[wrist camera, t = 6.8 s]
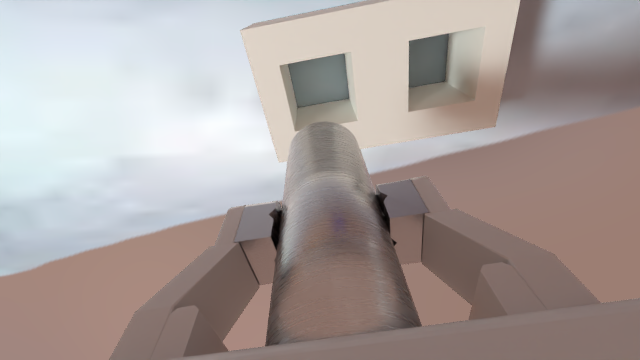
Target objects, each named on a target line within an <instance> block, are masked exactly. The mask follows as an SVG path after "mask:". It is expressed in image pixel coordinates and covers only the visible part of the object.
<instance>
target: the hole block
mask: <svg viewBox="0 0 640 360" xmlns="http://www.w3.org/2000/svg"><path fill="white" fill-rule="evenodd" d="M519 5H520V0H367V1H362V2H357V3H352V4H347V5H342V6H337V7H332V8H327V9H322V10H317V11H312V12H307V13H302V14H297V15H292V16H288V17H283V18H278V19H273V20H268V21H263V22H258V23H254V24H252V25H250V26H248V27H246V28H244V29H242V30H240V32H241V35H242V39H243V42H244V46H245V49H246V52H247V56H248V59H249V63H250V66H251V69H252V73H253V76H254V80H255V83H256V86H257V90H258V93H259V97H260V100H261V103H262V107H263V110H264V114H265V117H266V120H267V124H268V127H269V131H270V134H271V137H272V141H273V144H274V148H275V151H276V154H277V158H278V161H279V162H285V161H288V153H289V147H290V144H291V141H292V139H293V138H294V136H295V135H296V134H297V133H298V132H299V131H300V130H301V129H303V128H304V127H306V126H308V125H310V124H312V123H316V122H323V121H324V122H334V123H338V124H340V125H342V126H344V127H346V128H347V129H348V130H350V131H351V132H352V133H353V135H354V136H355V138H356V140H357V142H358V145H359V147H360V149H364V148H370V147H376V146H382V145H388V144H394V143H400V142H406V141H412V140H418V139H424V138H430V137H436V136H442V135H448V134H454V133H461V132H467V131H473V130H479V129H485V128H491V127H495V126H496V121H497V116H498V111H499V106H500V101H501V96H502V91H503V86H504V81H505V75H506V70H507V65H508V60H509V55H510V50H511V45H512V40H513V35H514V30H515V25H516V20H517V15H518V10H519ZM448 33H449V38H448V51H447V63H446V76H445V82H439V83H434V84H428V85H422V86H417V87H411V88H409V41H411V40H416V39H421V38H426V37H432V36H437V35H442V34H448ZM342 53H344V55H345V64H346V73H347V82H348V90H349V99H344V100H338V101H333V102H327V103H322V104H316V105H310V106H305V107H299V108H297V103H296V99H295V94H294V90H293V85H292V81H291V76H290V72H289V67H288V64H289V63H295V62H300V61H305V60H311V59H316V58H321V57H326V56H332V55H337V54H342Z"/></svg>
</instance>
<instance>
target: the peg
mask: <svg viewBox="0 0 640 360" xmlns="http://www.w3.org/2000/svg"><path fill="white" fill-rule="evenodd" d="M420 326H422V325H421V322H420V319H419V316H418V314H417V311H416V308H415V305H414V302H413V299H412V296H411V293H410V291H409V288H408V285H407V282H406V279H405V276H404V274H403V270H402V268H401V265H400V262H399V259H398V256H397V253H396V250H395V248H394V245H393V242H392V239H391V236H390V233H389V230H388V228H387V225H386V222H385V219H384V216H383V213H382V210H381V208H380V205H379V202H378V199H377V196H376V193H375V191H374V188H373V185H372V182H371V179H370V176H369V173H368V170H367V168H366V165H365V162H364V159H363V156H362V153H361V150H360V147H359V145H358V142H357V140H356V138H355V136H354V135H353V133H352V132H351V131H350V130H348V129H347V128H346V127H344V126H342V125H340V124H338V123H334V122H324V121H323V122H316V123H312V124H310V125H308V126H306V127H304V128H303V129H301V130H300V131H299V132H298V133H297V134H296V135H295V136H294V138H293V139H292V141H291V144H290V147H289V153H288V161H287V169H286V178H285V186H284V194H283V203H282V211H281V219H280V228H279V236H278V244H277V253H276V261H275V269H274V278H273V286H272V294H271V303H270V311H269V319H268V329H267V336H266V345H265V346H273V345H281V344H289V343H296V342H304V341H312V340H320V339H328V338H335V337H343V336H351V335H359V334H366V333H374V332H382V331H389V330H397V329H405V328H413V327H420Z"/></svg>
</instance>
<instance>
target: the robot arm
mask: <svg viewBox="0 0 640 360" xmlns="http://www.w3.org/2000/svg"><path fill="white" fill-rule="evenodd" d="M376 196H377V199H378V202H379V205H380V208H381V210H382V213H383V216H384V219H385V222H386V225H387V228H388V230H389V233H390V236H391V239H392V242H393V245H394V248H395V250H396V253H397V256H398V259H399V262H400V265H401V264H409V263H418V262H422V264H423V265H424V266H425V267H427V268H428V269H429V270H430V271H431V272H433V273H434V274H435V275H436V276H437V277H439V278H440V279H441V280H442V281H443V282H445V283H446V284H447V285H448V286H449V287H451V288H452V289H453V290H454V291H455V292H457V293H458V294H459V295H460V296H461V297H463V298H464V299H465V300H466V301H467V302H468V303H470V304H471V305H472V308H471V312H470V316H469V320H467V321H459V322H452V323H443V324H436V325H428V326H420V327H413V328H405V329H397V330H389V331H382V332H374V333H366V334H359V335H351V336H343V337H335V338H328V339H320V340H312V341H304V342H296V343H289V344H281V345H273V346H265V347H258V348H250V349H242V350H234V351H228V349H227V348H226V347H225V345H224V344H223V342H222V341H223V340H224V339H225V337H226V335H227V334H228V333H229V331H230V330H231V328H232V326H233V325H234V323H235V322H236V321H237V319H238V318H239V316H240V315H241V314H242V312H243V311H244V309H245V307H246V306H247V305H248V303H249V302H250V300H251V299H252V297H253V296H254V294H255V293H256V291H257V290H258V289H259V285H263V284H270V283H273V278H274V269H275V261H276V253H277V244H278V236H279V228H280V219H281V211H282V208H281V206H280V203H279V202H278V201H272V202H265V203H258V204H251V205H244V206H238V207H231V208H230V209H229V210H228V211H227V214H226V217H225V220H224V222H223V225H222V227H221V230H220V233H219V235H218V238H217V241H216V243H215V246H211V247H209V248H208V249H206V250H205V251H204V252H203V253H202V254H201V255H200V256H198V257H197V258H196V259H195V260H194V261H193V262H192V263H190V264H189V265H188V266H187V267H186V268H185V269H184V270H183V271H181V272H180V273H179V274H178V275H177V276H176V277H175V278H173V279H172V280H171V281H170V282H169V283H168V284H167V285H165V286H164V287H163V288H162V289H161V290H160V291H159V292H157V293H156V294H155V295H154V296H153V297H152V298H151V299H150V300H148V301H147V302H146V303H145V304H144V305H143V306H142V307H140V308H139V309H138V310H137V311H136V312H135V314H134V315H133V317H132V319H131V321H130V323H129V324H128V326H127V328H126V330H125V331H124V333H123V335H122V337H121V339H120V341H119V342H118V344H117V346H116V348H115V350H114V352H113V353H112V355H111V357H110V359H109V360H640V298H638V299H629V300H621V301H614V302H606V303H601V302H600V301H599V300H598V299H597V298H596V297H595V296H594V295H593V294H592V293H591V292H590V291H589V290H588V289H587V288H586V287H585V286H584V285H583V284H582V283H581V281H579V279H578V278H577V277H576V276H575V275H574V274H573V273H572V272H571V271H570V270H569V269H568V268H567V267H566V266H565V265H564V264H563V263H562V262H561V261H560V260H559V259H558V258H557V256H556V255H555V254H553V253H551V252H549V251H547V250H544V249H542V248H540V247H538V246H536V245H534V244H531V243H529V242H527V241H525V240H523V239H521V238H519V237H516V236H514V235H512V234H510V233H508V232H505V231H503V230H501V229H499V228H497V227H495V226H493V225H490V224H488V223H486V222H484V221H481V220H479V219H477V218H475V217H473V216H471V215H469V214H466V213H464V212H462V211H460V210H458V209H453V210H451V209H450V207H449V206H448V205H447V203H446V202H445V200H444V199H443V197H442V196H441V194H440V193H439V192H438V190H437V189H436V187H435V186H434V184H433V183H432V182H431V180H430V179H429V177H427V176H422V177H418V178H412V179H409V180H404V181H398V182H392V183H386V184H380V185H376Z"/></svg>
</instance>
